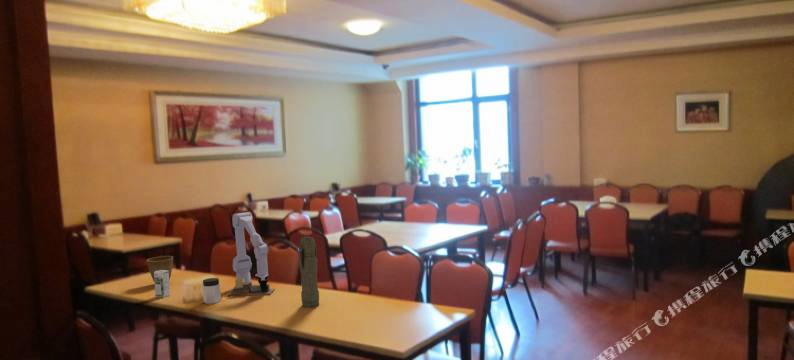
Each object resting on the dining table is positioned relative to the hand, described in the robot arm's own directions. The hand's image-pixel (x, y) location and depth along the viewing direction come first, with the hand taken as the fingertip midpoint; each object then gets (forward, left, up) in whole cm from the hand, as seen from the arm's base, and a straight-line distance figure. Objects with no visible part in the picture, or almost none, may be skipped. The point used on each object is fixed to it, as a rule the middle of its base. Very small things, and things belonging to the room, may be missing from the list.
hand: (263, 290), depth 326 cm
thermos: (+28, +31, -2) cm, 42 cm away
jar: (+15, -24, -2) cm, 28 cm away
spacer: (0, -13, +3) cm, 13 cm away
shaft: (0, -6, 0) cm, 6 cm away
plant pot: (-29, -70, -2) cm, 76 cm away
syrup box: (0, -57, -2) cm, 57 cm away
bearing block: (0, -7, -1) cm, 7 cm away
